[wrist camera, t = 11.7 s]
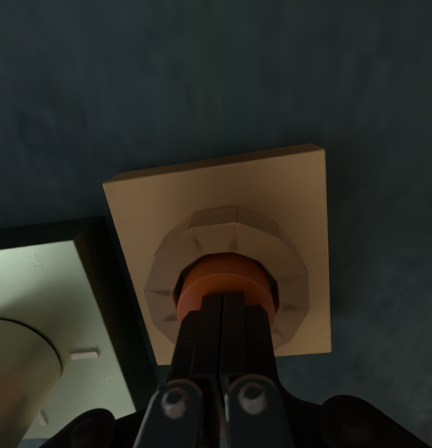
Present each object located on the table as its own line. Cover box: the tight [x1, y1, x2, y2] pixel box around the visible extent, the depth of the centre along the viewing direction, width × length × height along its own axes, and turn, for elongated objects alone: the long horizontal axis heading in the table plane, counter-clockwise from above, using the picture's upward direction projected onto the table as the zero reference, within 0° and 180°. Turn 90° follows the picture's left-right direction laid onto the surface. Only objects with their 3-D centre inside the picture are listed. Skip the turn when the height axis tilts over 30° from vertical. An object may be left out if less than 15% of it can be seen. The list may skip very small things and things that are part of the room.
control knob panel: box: [0, 216, 157, 439], centre depth 16 cm, size 11×12×3 cm
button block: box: [103, 143, 331, 365], centre depth 14 cm, size 9×10×4 cm
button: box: [177, 252, 275, 330], centre depth 12 cm, size 4×4×2 cm
